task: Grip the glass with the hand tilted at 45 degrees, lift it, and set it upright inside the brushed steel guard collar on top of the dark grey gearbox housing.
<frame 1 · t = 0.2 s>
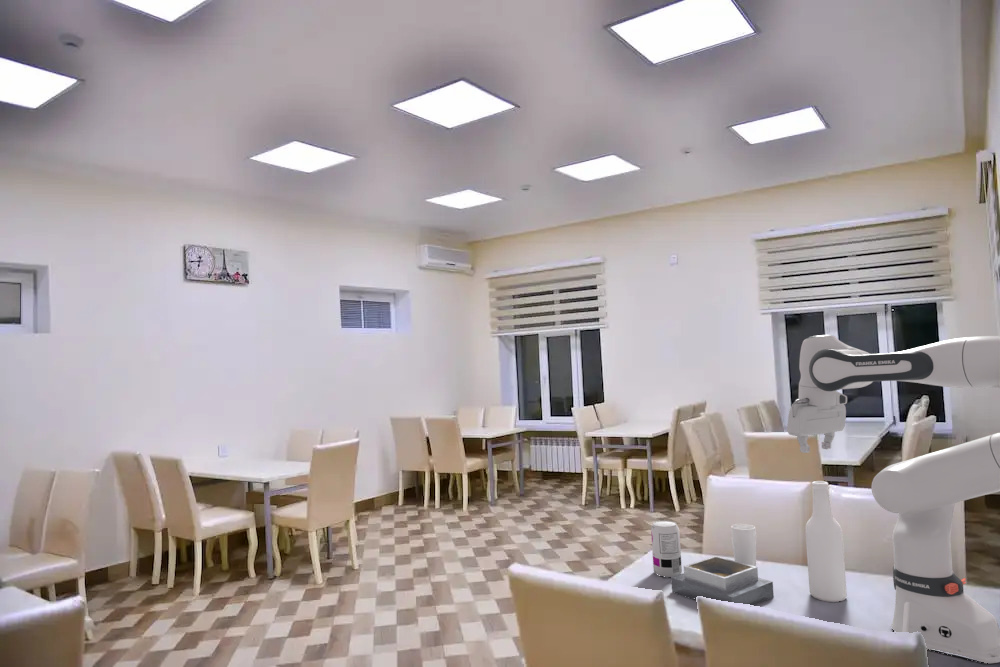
hand: (815, 450, 167), 39 cm above the table, tool pointing down, fingers open, 8 cm apart
white bottle: (828, 597, 170), on the table
supplement can: (667, 574, 194), on the table
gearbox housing: (721, 594, 175), on the table
drinking glass: (746, 579, 186), on the table
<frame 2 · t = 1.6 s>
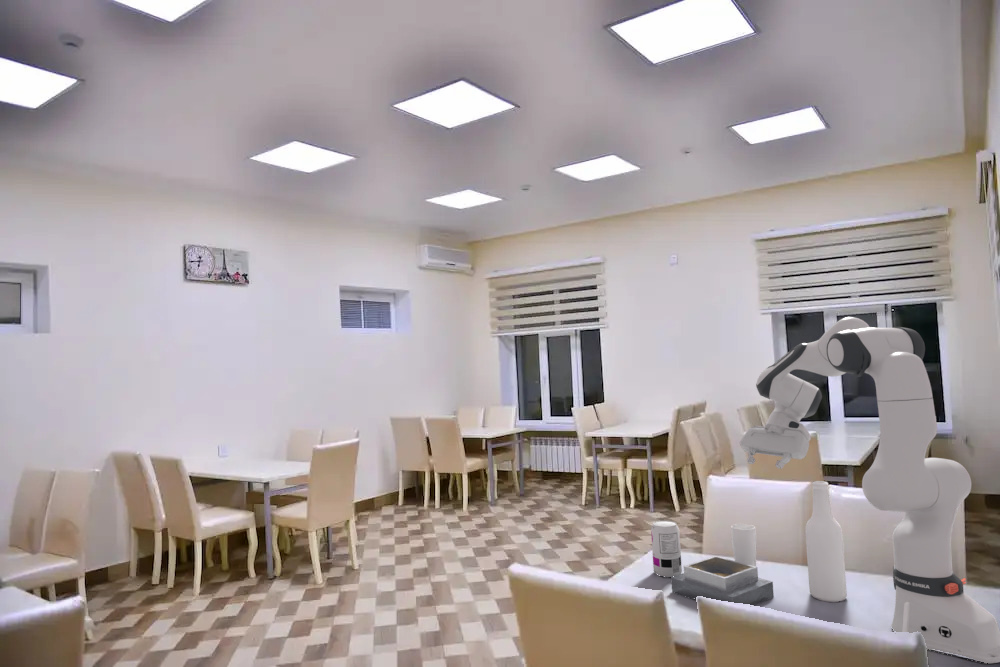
hand: (764, 465, 193), 31 cm above the table, tool tilted 45°, fingers open, 8 cm apart
nothing on the table moved.
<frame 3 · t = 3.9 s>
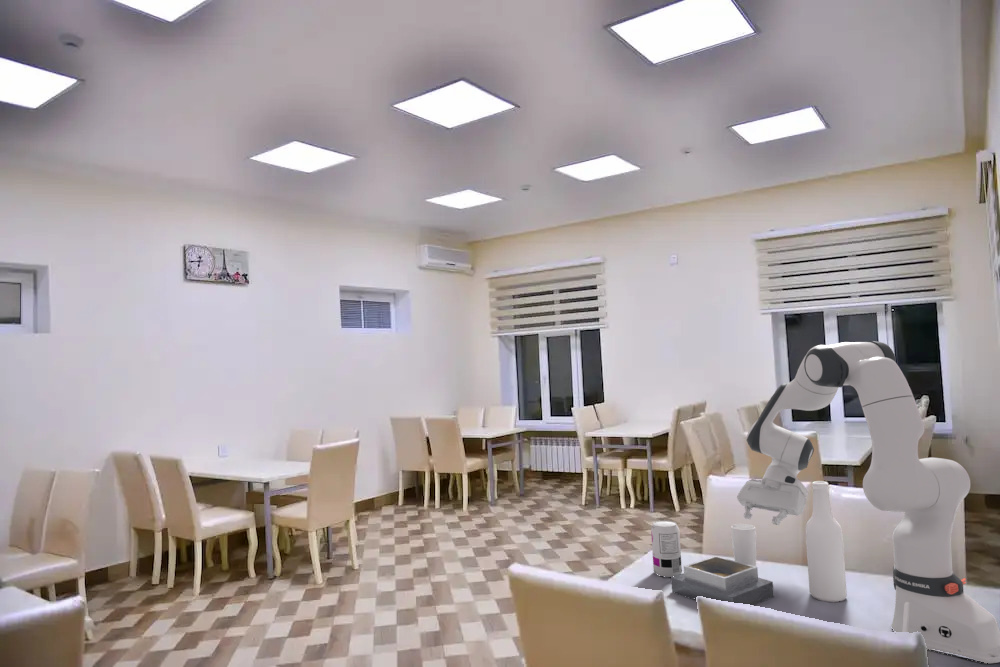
hand: (760, 520, 191), 15 cm above the table, tool tilted 45°, fingers open, 8 cm apart
nothing on the table moved.
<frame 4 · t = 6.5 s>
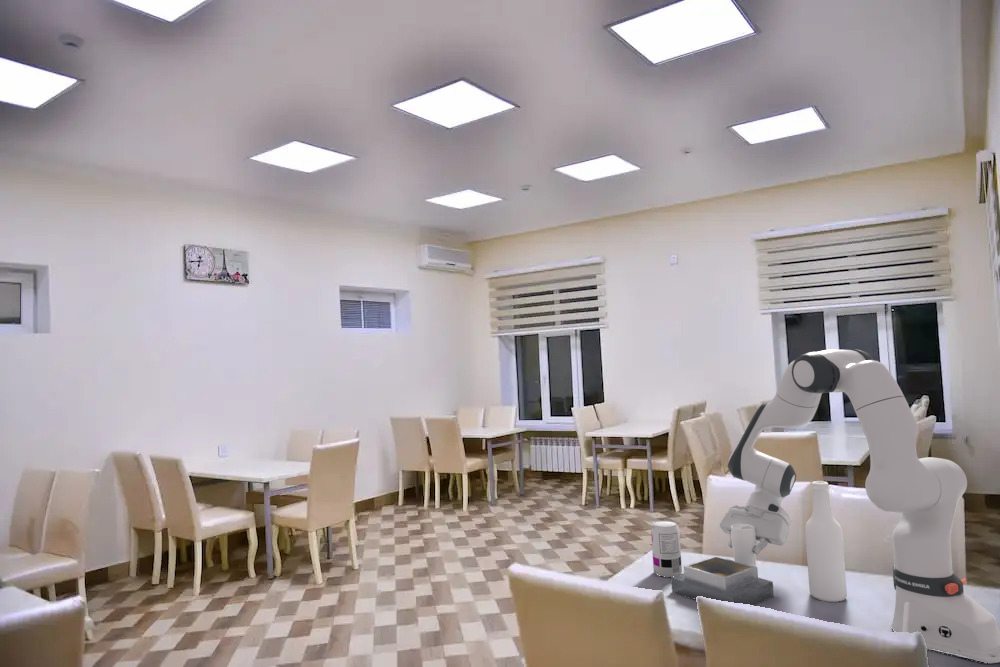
hand: (743, 550, 186), 8 cm above the table, tool tilted 45°, fingers closed on drinking glass, 6 cm apart
drinking glass: (746, 579, 186), on the table, touching gripper
everything else where it was.
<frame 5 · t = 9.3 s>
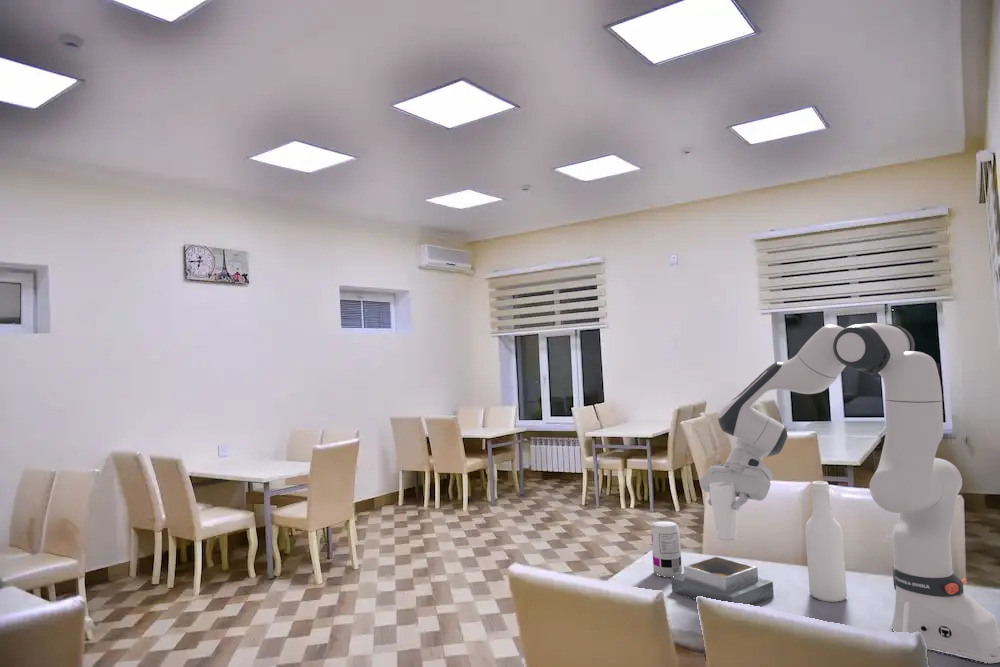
hand: (722, 506, 179), 23 cm above the table, tool tilted 45°, fingers closed on drinking glass, 6 cm apart
drinking glass: (727, 539, 178), point 14 cm above the table, touching gripper
everything else where it was.
when the fingers open (14 cm above the table, at t = 12.6 s): drinking glass moves 2 cm, resting on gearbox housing.
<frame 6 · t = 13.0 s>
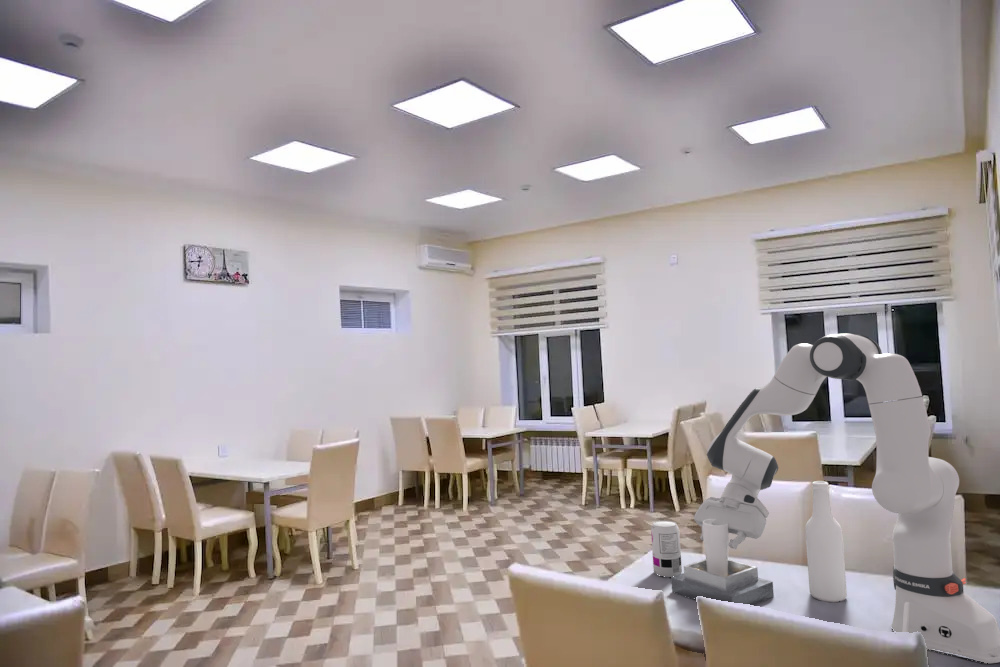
hand: (717, 543, 175), 14 cm above the table, tool tilted 45°, fingers open, 8 cm apart
drinking glass: (717, 577, 176), point 4 cm above the table, touching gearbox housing, gripper
everything else where it was.
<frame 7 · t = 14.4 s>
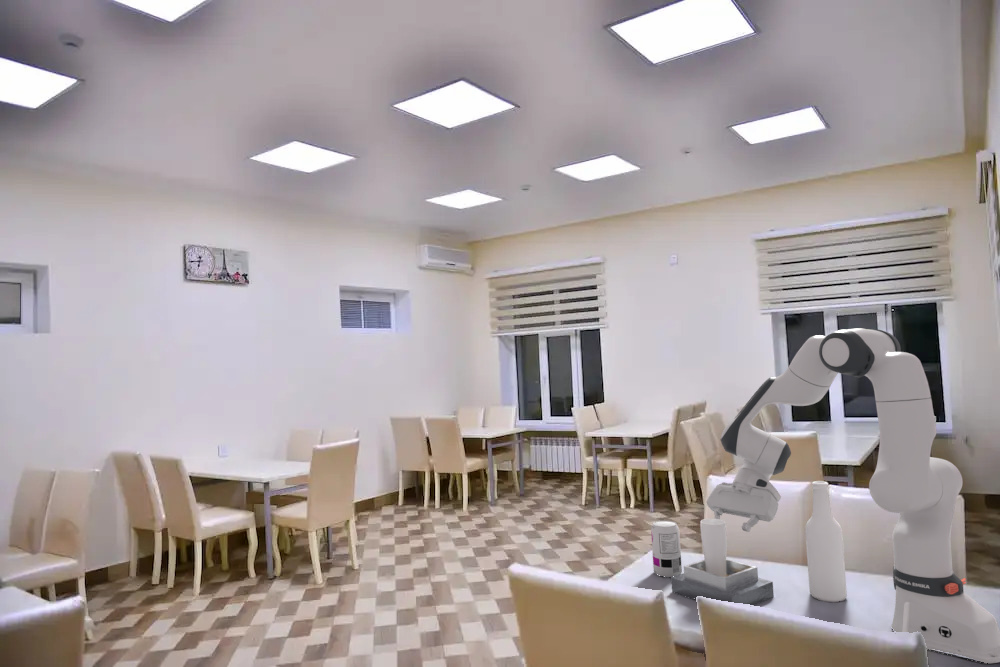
hand: (730, 527, 179), 17 cm above the table, tool tilted 45°, fingers open, 8 cm apart
drinking glass: (716, 577, 177), point 4 cm above the table, touching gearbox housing
everything else where it was.
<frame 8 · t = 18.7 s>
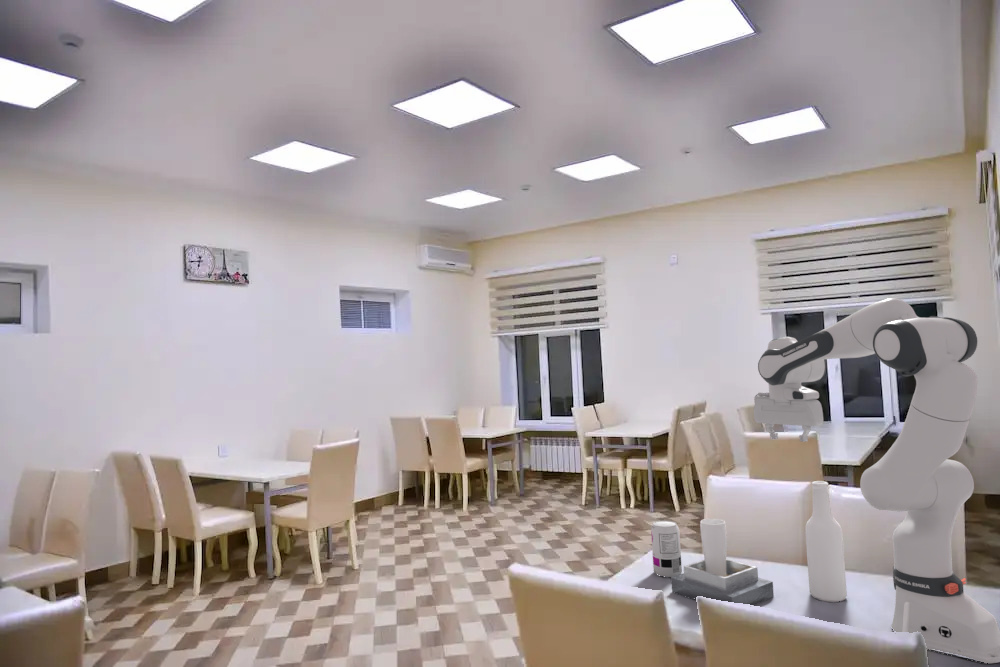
hand: (788, 440, 188), 39 cm above the table, tool pointing down, fingers open, 8 cm apart
nothing on the table moved.
at the end: drinking glass inside the target area on the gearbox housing (1.7 cm from its centre), point 4.1 cm above the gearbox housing's base; drinking glass tilted 0°; the gripper is holding nothing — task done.
